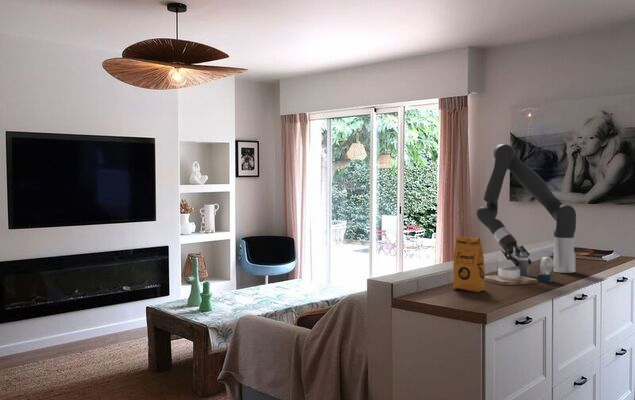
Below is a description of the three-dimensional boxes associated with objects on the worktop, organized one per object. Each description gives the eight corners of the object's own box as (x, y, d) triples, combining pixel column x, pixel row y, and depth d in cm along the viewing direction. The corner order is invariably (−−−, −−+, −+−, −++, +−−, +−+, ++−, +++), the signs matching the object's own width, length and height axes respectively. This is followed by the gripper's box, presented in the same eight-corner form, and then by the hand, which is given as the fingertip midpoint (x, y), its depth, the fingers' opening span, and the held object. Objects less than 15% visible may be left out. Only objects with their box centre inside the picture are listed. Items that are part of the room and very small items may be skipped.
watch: (555, 280, 259) (555, 256, 258) (548, 283, 253) (548, 258, 253) (542, 279, 263) (543, 255, 262) (535, 281, 257) (535, 257, 256)
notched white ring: (511, 275, 264) (511, 267, 264) (523, 279, 255) (523, 270, 255) (494, 276, 261) (494, 268, 261) (506, 280, 253) (506, 271, 252)
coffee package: (476, 293, 230) (476, 239, 230) (449, 289, 239) (449, 237, 239) (489, 290, 237) (489, 237, 237) (462, 286, 246) (462, 235, 246)
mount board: (514, 277, 269) (514, 274, 269) (537, 283, 253) (537, 279, 253) (481, 279, 263) (481, 276, 263) (502, 285, 248) (502, 282, 248)
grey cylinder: (523, 274, 276) (523, 254, 275) (530, 276, 271) (530, 255, 270) (514, 275, 274) (514, 254, 274) (521, 277, 269) (521, 255, 269)
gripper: (499, 234, 274) (519, 261, 265) (519, 232, 282) (539, 258, 273) (490, 244, 279) (509, 271, 270) (510, 242, 287) (529, 268, 277)
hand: (524, 264), depth 271 cm, fingers open, 8 cm apart
